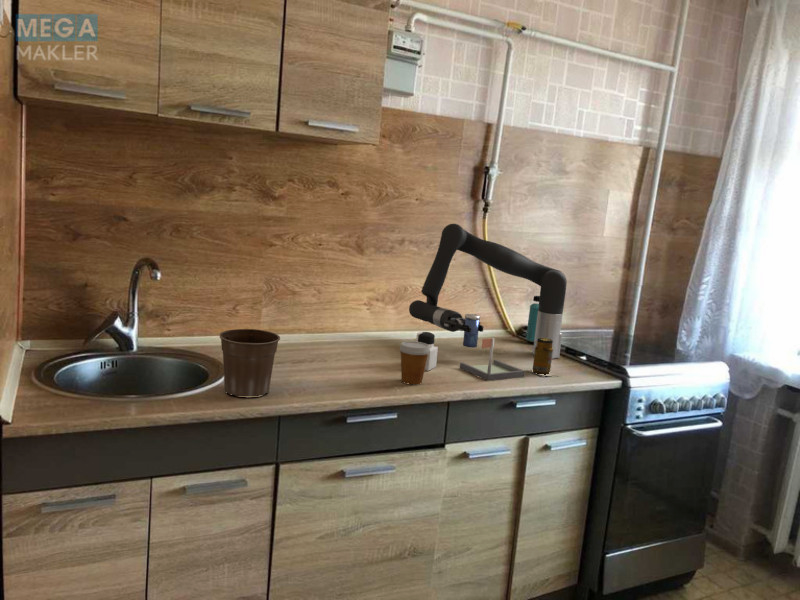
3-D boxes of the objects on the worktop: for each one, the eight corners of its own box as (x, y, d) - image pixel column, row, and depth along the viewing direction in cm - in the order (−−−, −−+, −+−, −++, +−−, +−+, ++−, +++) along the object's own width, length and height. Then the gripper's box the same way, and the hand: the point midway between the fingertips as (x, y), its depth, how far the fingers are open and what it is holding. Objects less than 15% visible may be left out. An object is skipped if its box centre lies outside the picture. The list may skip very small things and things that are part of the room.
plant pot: (286, 398, 185) (289, 340, 182) (228, 404, 176) (231, 344, 173) (263, 381, 198) (266, 327, 195) (209, 386, 189) (211, 330, 187)
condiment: (543, 369, 239) (547, 336, 237) (558, 376, 232) (562, 342, 230) (526, 370, 236) (530, 337, 234) (541, 377, 229) (545, 343, 227)
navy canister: (474, 344, 242) (477, 314, 240) (479, 347, 237) (482, 317, 235) (460, 343, 241) (463, 313, 239) (465, 347, 236) (468, 316, 234)
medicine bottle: (436, 367, 230) (439, 332, 228) (428, 371, 224) (431, 336, 222) (417, 363, 233) (420, 329, 231) (408, 367, 226) (411, 332, 224)
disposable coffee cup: (417, 388, 204) (420, 350, 202) (390, 381, 208) (393, 343, 206) (432, 382, 212) (436, 345, 210) (406, 375, 217) (409, 339, 214)
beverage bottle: (542, 345, 277) (548, 298, 273) (526, 344, 277) (532, 296, 273) (539, 342, 283) (545, 295, 280) (523, 340, 283) (529, 294, 280)
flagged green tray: (451, 369, 229) (455, 328, 227) (495, 364, 240) (499, 326, 237) (479, 381, 217) (483, 339, 214) (524, 376, 227) (529, 336, 225)
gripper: (432, 310, 245) (461, 319, 231) (463, 308, 253) (493, 317, 239) (430, 330, 247) (459, 341, 233) (461, 328, 254) (491, 338, 240)
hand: (476, 329), depth 236 cm, fingers closed on navy canister, 5 cm apart
